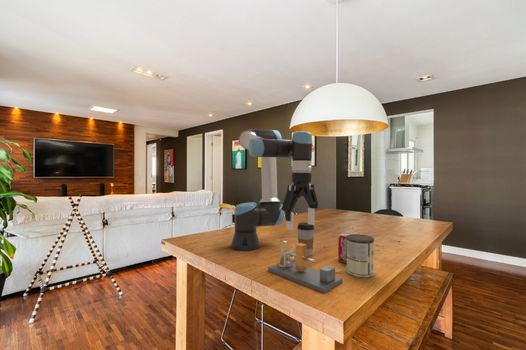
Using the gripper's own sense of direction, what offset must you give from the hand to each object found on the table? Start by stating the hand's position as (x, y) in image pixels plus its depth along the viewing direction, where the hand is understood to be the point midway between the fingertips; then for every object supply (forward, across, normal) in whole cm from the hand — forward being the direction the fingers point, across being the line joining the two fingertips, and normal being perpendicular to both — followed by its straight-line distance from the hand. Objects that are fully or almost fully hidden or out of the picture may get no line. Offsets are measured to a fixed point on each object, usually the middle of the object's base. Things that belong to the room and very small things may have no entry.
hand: (300, 226), depth 97 cm
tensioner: (+17, 0, -12) cm, 21 cm away
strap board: (+19, 0, -2) cm, 19 cm away
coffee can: (+19, +20, -15) cm, 31 cm away
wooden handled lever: (+16, 0, -1) cm, 16 cm away
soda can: (+19, +28, -5) cm, 34 cm away
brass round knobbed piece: (+17, 0, +7) cm, 19 cm away
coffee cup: (+19, +22, +13) cm, 32 cm away
